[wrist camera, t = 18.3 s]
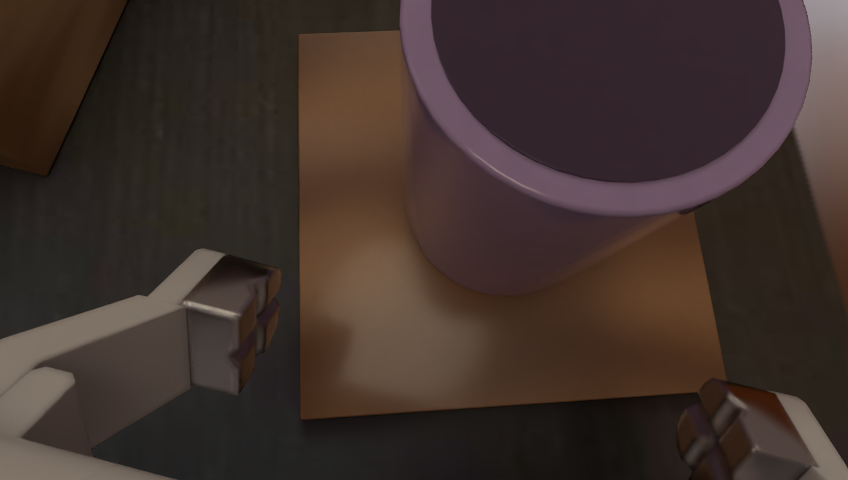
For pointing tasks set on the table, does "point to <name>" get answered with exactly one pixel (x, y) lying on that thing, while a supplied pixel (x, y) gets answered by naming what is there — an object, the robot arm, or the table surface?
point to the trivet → (451, 302)
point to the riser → (47, 72)
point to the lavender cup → (584, 123)
